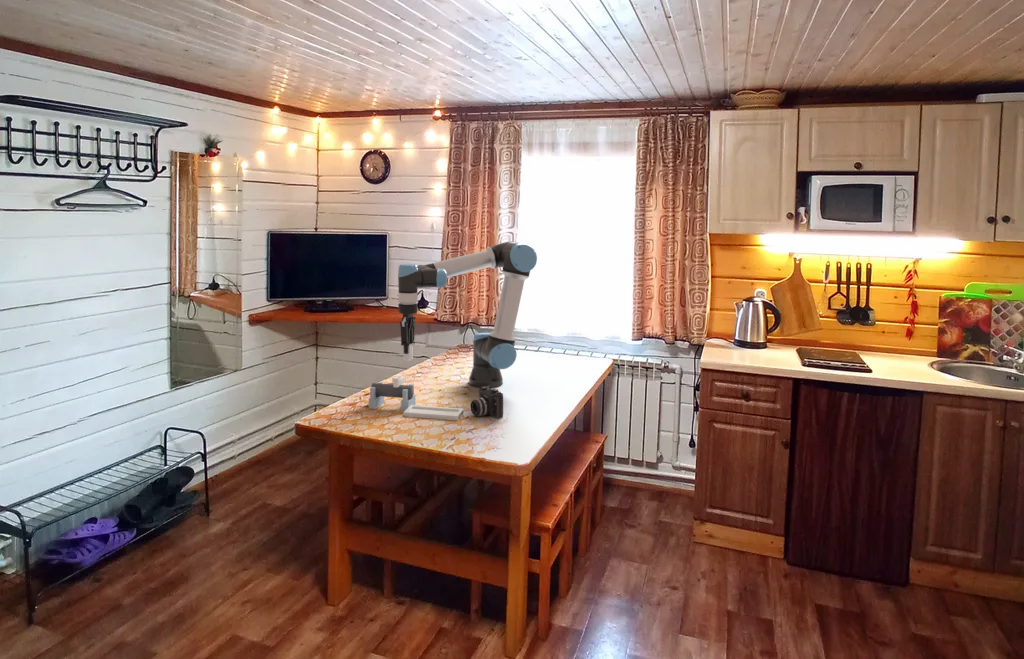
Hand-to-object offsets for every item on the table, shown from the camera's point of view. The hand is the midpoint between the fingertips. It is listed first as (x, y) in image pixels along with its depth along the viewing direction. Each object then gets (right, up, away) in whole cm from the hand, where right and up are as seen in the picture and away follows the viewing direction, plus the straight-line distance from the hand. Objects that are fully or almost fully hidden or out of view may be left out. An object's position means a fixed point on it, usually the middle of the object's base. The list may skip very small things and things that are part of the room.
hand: (408, 360), depth 282 cm
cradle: (-5, -18, -7) cm, 20 cm away
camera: (+32, -21, -13) cm, 40 cm away
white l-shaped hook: (-2, -9, -9) cm, 13 cm away
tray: (+12, -20, -16) cm, 28 cm away
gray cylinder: (-5, -14, -8) cm, 17 cm away
